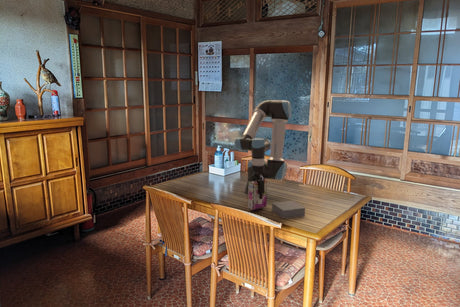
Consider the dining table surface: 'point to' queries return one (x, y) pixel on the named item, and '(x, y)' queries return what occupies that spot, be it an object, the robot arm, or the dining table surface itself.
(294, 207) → the block
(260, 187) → the robot arm
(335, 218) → the dining table surface
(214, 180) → the dining table surface
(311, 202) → the dining table surface
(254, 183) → the candy bar box
